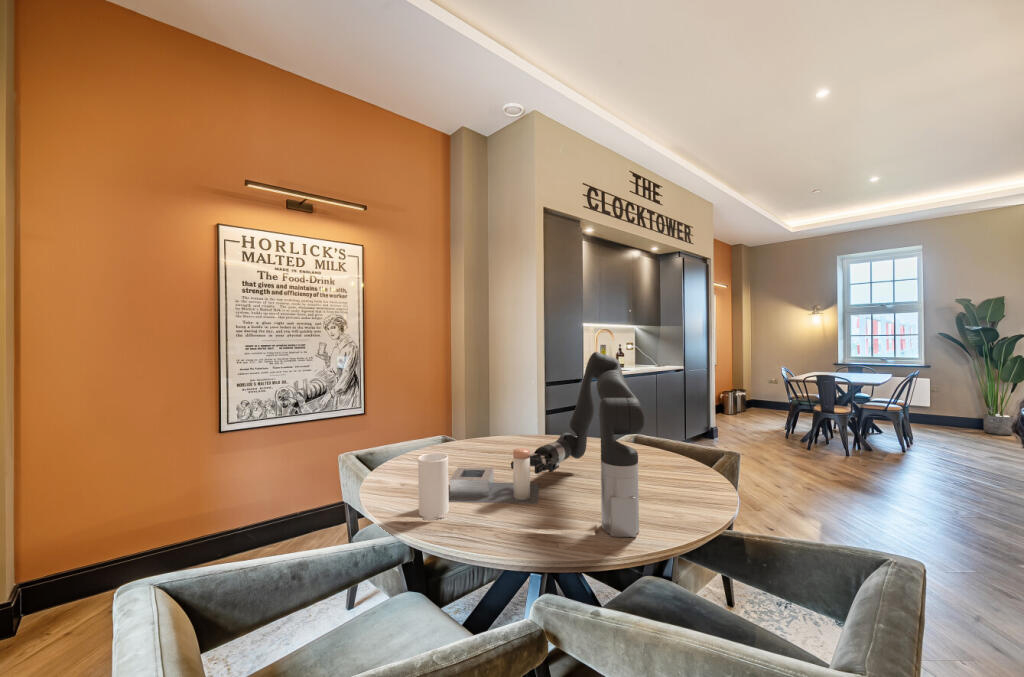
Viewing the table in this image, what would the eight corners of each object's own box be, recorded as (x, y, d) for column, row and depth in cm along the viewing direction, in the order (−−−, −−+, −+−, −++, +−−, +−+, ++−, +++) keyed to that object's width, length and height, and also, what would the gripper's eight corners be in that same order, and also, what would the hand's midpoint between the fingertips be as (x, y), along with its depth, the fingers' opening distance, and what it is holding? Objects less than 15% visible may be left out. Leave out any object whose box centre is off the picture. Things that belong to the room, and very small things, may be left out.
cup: (445, 506, 118) (444, 451, 118) (451, 517, 111) (451, 459, 111) (416, 511, 115) (416, 454, 115) (421, 523, 108) (420, 462, 108)
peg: (529, 500, 119) (529, 452, 120) (513, 500, 120) (512, 452, 120) (530, 494, 124) (529, 448, 125) (513, 494, 125) (513, 448, 125)
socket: (488, 496, 123) (488, 480, 123) (449, 495, 124) (449, 479, 124) (493, 482, 135) (493, 467, 135) (458, 482, 136) (458, 467, 136)
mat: (538, 507, 117) (538, 503, 117) (443, 505, 119) (443, 501, 119) (538, 486, 134) (538, 483, 134) (455, 484, 136) (455, 481, 136)
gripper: (531, 441, 140) (504, 452, 127) (568, 447, 132) (543, 459, 119) (531, 463, 140) (504, 476, 127) (569, 470, 132) (544, 484, 119)
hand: (523, 468), depth 123 cm, fingers open, 8 cm apart
